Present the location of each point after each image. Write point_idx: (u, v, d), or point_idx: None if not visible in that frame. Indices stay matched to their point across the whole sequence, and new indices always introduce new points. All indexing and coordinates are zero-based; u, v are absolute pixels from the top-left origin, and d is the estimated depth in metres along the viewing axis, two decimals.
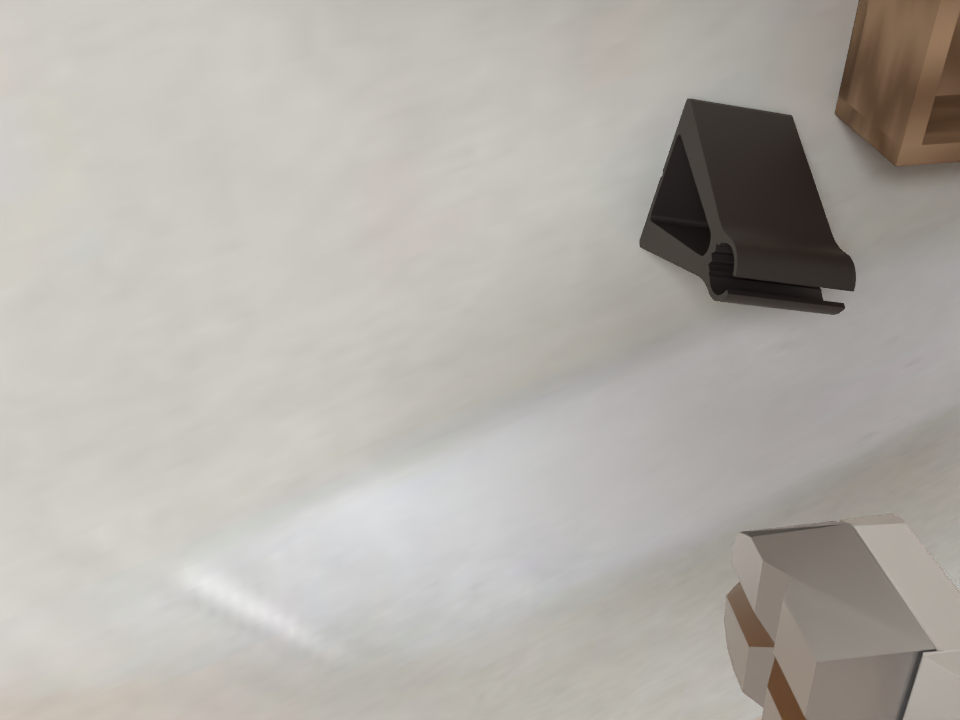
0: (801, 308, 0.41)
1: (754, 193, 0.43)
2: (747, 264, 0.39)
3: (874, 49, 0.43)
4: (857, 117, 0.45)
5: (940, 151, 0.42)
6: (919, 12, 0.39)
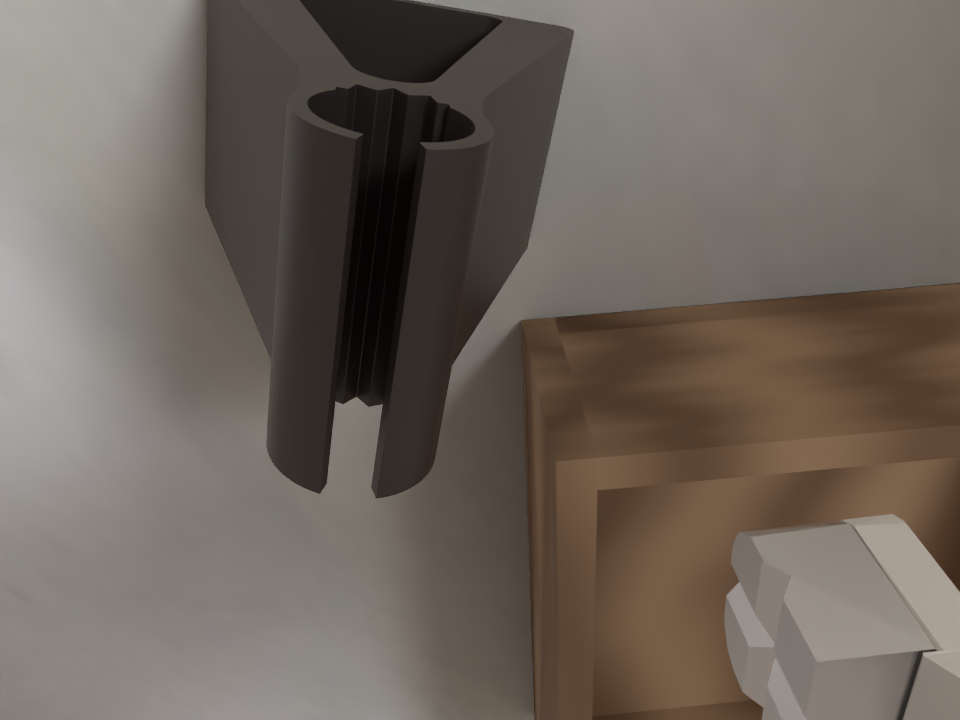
0: (302, 383, 0.13)
1: (494, 189, 0.17)
2: (458, 183, 0.12)
3: (682, 351, 0.24)
4: (556, 359, 0.24)
5: (580, 524, 0.22)
6: (814, 403, 0.22)
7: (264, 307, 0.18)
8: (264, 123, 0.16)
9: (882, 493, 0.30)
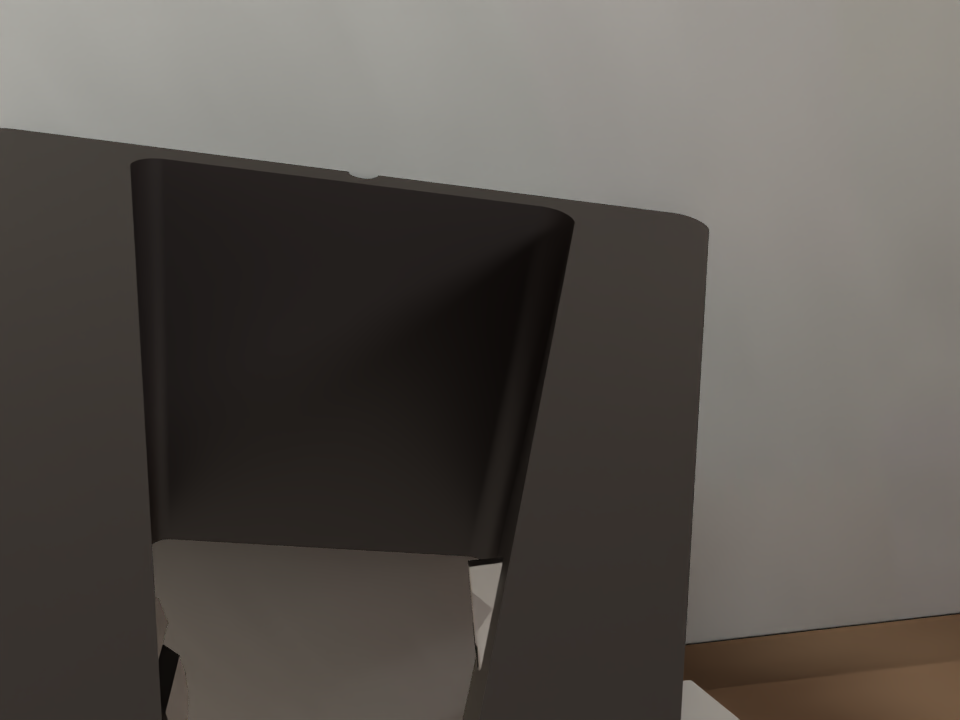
0: None
1: None
2: None
3: None
4: None
5: None
6: None
7: None
8: None
9: None
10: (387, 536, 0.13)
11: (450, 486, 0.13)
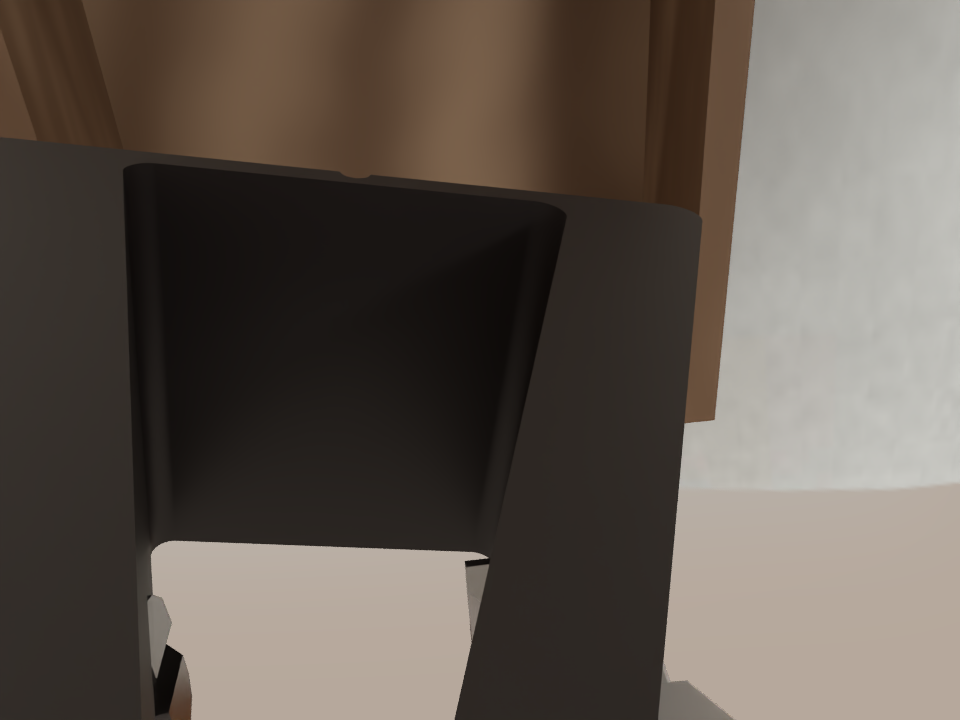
0: None
1: None
2: None
3: None
4: None
5: None
6: None
7: None
8: None
9: (466, 26, 0.27)
10: (391, 533, 0.14)
11: (452, 481, 0.13)
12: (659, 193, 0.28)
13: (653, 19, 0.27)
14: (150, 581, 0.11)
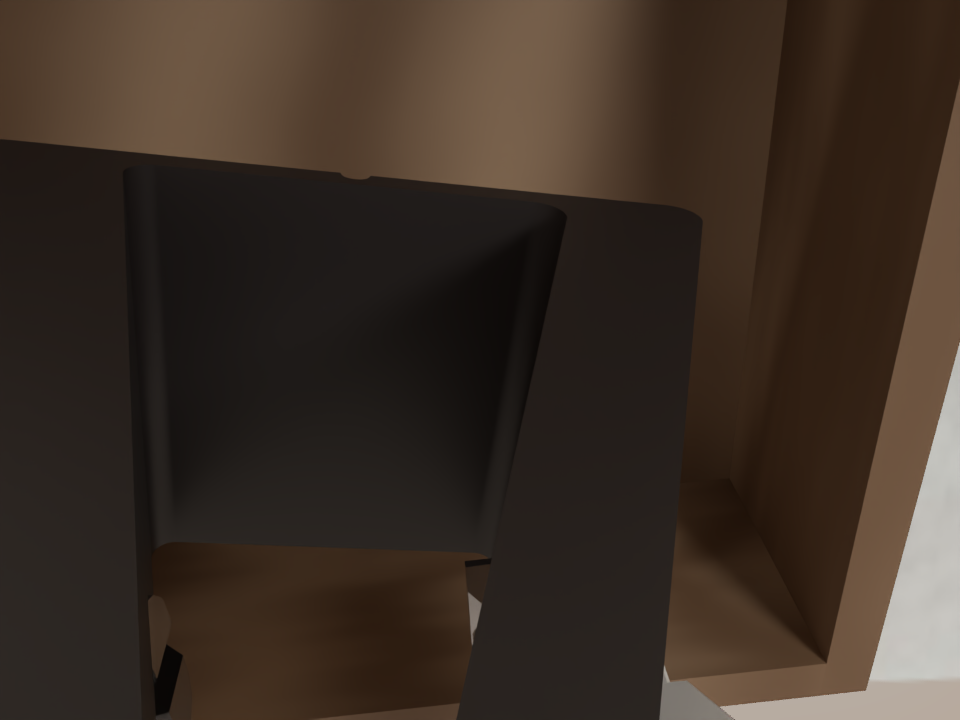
0: None
1: None
2: None
3: None
4: None
5: None
6: None
7: None
8: None
9: (493, 89, 0.17)
10: (391, 534, 0.14)
11: (452, 483, 0.13)
12: (785, 343, 0.18)
13: (786, 81, 0.17)
14: (151, 583, 0.11)
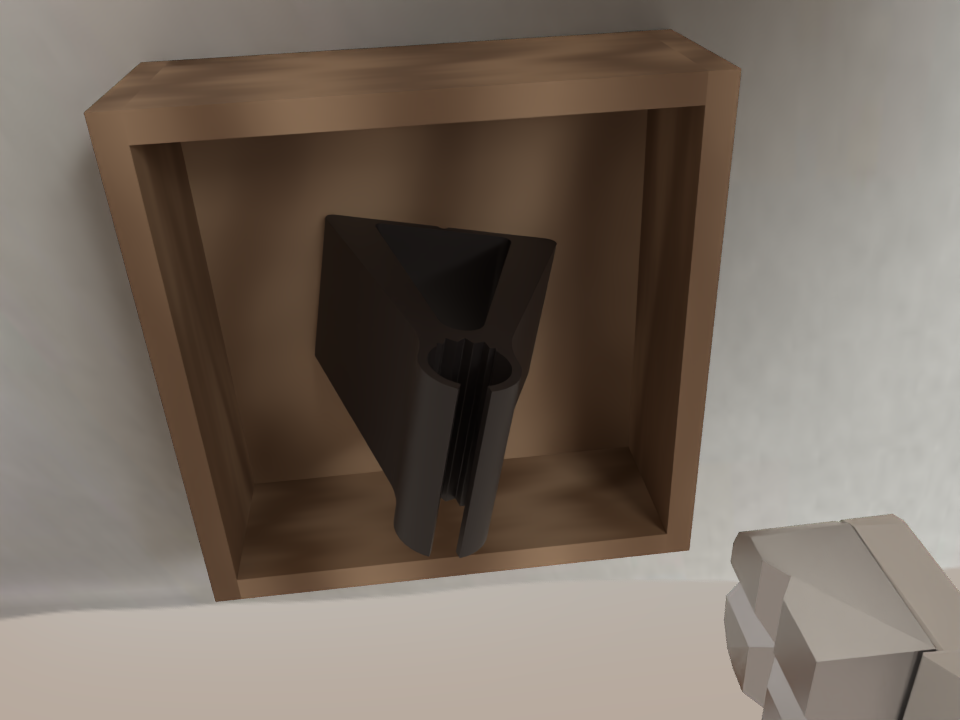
0: (422, 499, 0.25)
1: None
2: (506, 402, 0.24)
3: (255, 70, 0.28)
4: (146, 76, 0.28)
5: (124, 182, 0.25)
6: (330, 85, 0.26)
7: (378, 441, 0.29)
8: (381, 339, 0.28)
9: None
10: None
11: None
12: (647, 370, 0.35)
13: (643, 240, 0.34)
14: None
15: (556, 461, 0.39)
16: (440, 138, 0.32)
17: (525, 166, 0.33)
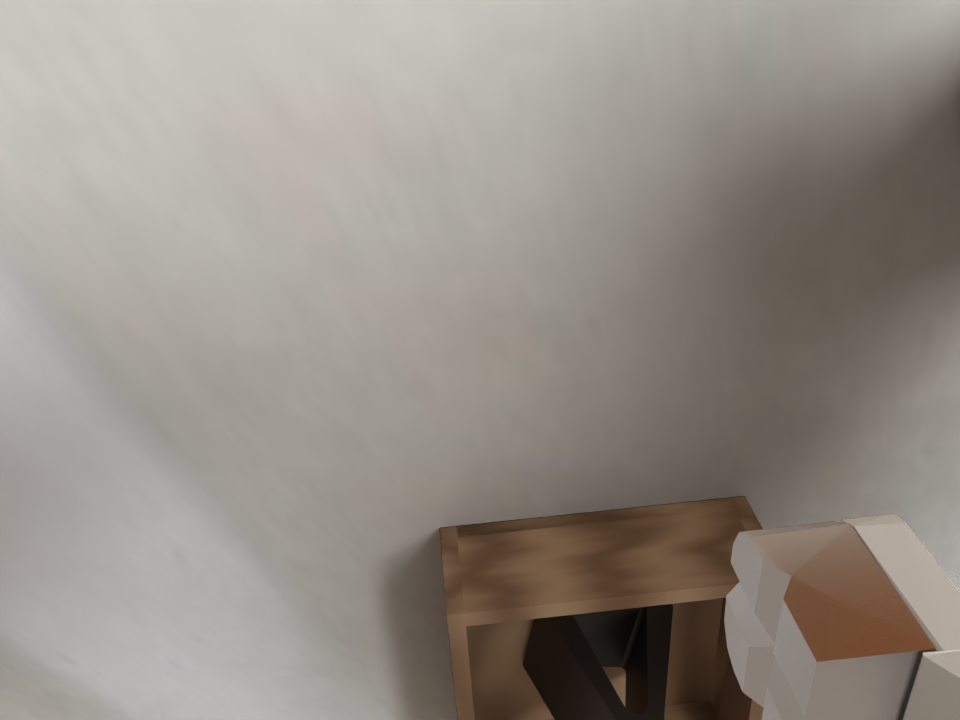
0: None
1: None
2: None
3: (514, 550, 0.51)
4: (454, 554, 0.51)
5: (459, 640, 0.48)
6: (566, 583, 0.48)
7: None
8: (585, 701, 0.51)
9: None
10: (601, 663, 0.58)
11: (616, 652, 0.58)
12: (726, 674, 0.58)
13: (725, 603, 0.56)
14: None
15: (664, 712, 0.61)
16: None
17: None
